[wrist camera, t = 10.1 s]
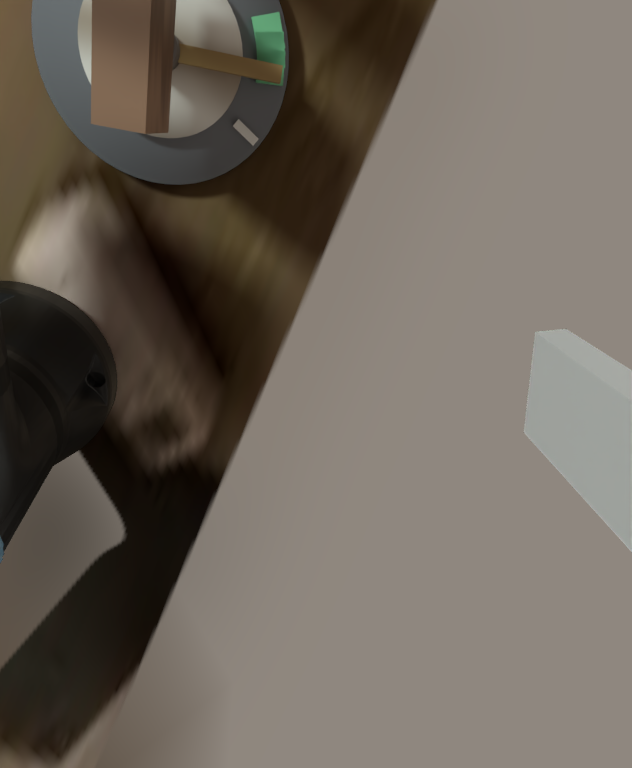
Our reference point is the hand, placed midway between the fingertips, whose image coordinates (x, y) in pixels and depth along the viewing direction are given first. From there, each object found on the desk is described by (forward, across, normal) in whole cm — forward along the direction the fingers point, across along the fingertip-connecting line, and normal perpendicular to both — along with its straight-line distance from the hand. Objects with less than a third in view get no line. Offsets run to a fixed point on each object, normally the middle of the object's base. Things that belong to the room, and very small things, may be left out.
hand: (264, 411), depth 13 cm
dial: (+30, +3, -11) cm, 32 cm away
